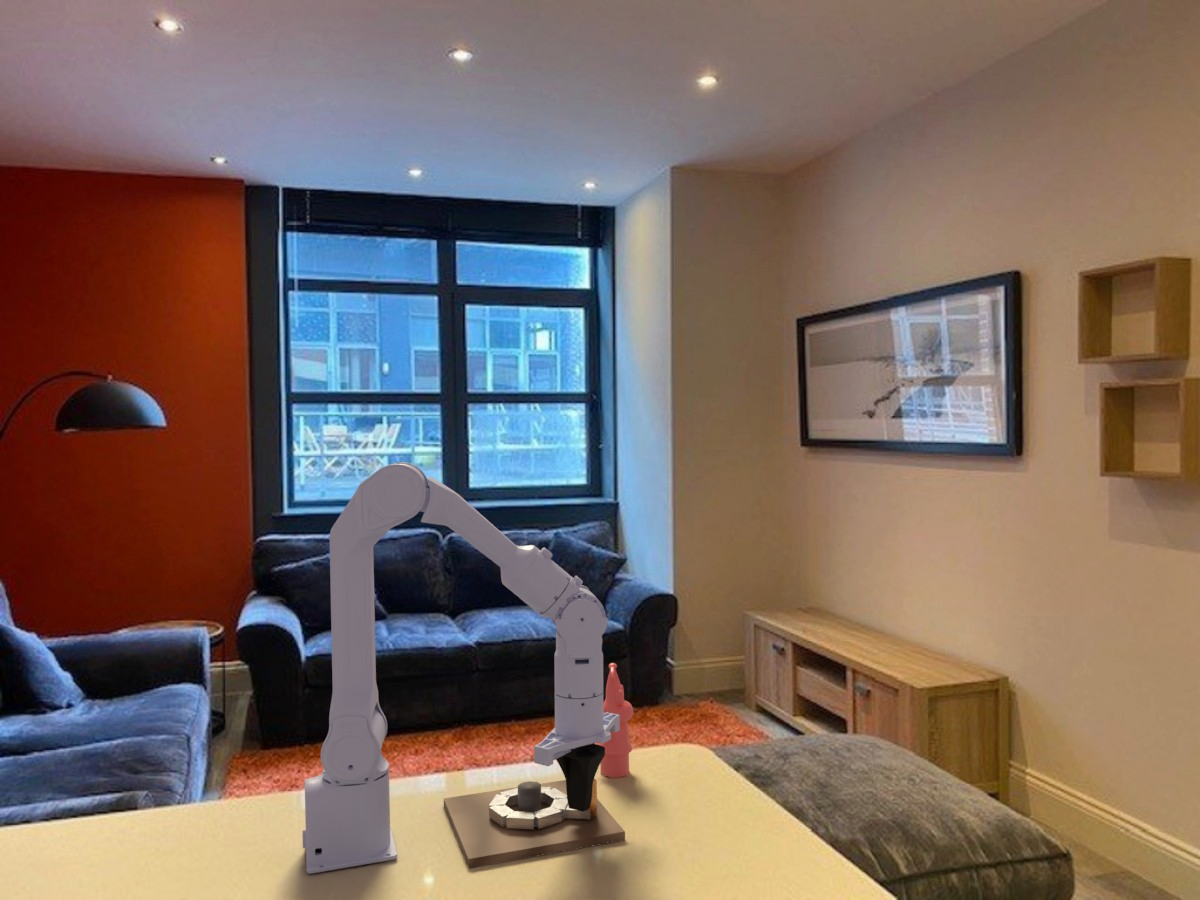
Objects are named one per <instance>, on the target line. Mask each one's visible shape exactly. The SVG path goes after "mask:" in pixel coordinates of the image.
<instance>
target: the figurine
mask: <svg viewBox="0 0 1200 900" xmlns="http://www.w3.org/2000/svg"><path fill="white" fill-rule="evenodd" d="M617 667H618V665H617V664H616V663H615V662H610V663H609V664H608V668H609V673H608V676H607V681H606V687H605V700H603V714H604V713H606V712H608V713H613V714H618V715H620V730H619V731H617V732H609V733H611V739H610V740H609V741H607V742H605V743H598V745H601V746H603V747H605V756H604V757H603V759H602V761H601V763H600V765H599V767H600V774H601V775H602V776H604V777H606V776H608V777H607V778H622V776H623V777H625V776H627V775H629V774H630V753H631V752H632V751H633V746H632V744H631V741H630V732H629V724H628V721H630V719H631V718H632V717H633V715H634V707H633V706H632V704H631V703H630V702H629V701H627V700H625V691H624V689H625V687H624V685H623V684H621V681H620V678H619V675H618V673H617Z"/></svg>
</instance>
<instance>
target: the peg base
mask: <svg viewBox="0 0 1200 900" xmlns="http://www.w3.org/2000/svg"><path fill="white" fill-rule="evenodd" d="M541 787H551V789H553V788H556V789H557V790H559V791H561V792H562V793H564V794H566V795H567V790H566V779H563V780H558V781H557V780H556V781H549V782H541V783H540V782H537V781H533V780H532V781H524V782H521V783H519V784H518V785H517V787H509V788H503V789H496V790H492V791H491V790H490V791H485V792H478V793H477V792H476V793H471V794H465V795H464V794H463V795H458V796H450V797H445V798H443V809H444V810H445V812H446V816H447V818H448V820H449V822H450V825H451V828H452V827H453V828H452V830H453V833H454V835H455V838H456V839H457V843H458V846H459V848H460V851H461V852H462V854H463V857H464V860H465V863H466V865H467V867H468V869H471V868H477V867H483V866H488V865H494V864H500V863H506V862H511V861H517V860H522V859H528V858H533V856H534V857H538V856H537V855H540V856H543V855H542V854H545V855H549V853H551V854H555V853H554V852H556V853H560V852H559V851H562V852H564V851H563V850H568V851H571V850H570V849H573V850H577V849H576V848H579V849H581V848H580V847H584V848H587V847H586V846H590V847H593V846H592V845H595V846H599V845H598V844H601V845H604V844H603V843H607V842H612V841H613V842H612V843H616V842H615V841H618V842H621V841H620V840H623V841H626V831H625V829H624V828H622V826H621V825H620V824H619V823H618V821H617V820H616V819H615V818H614V817H613V815H612V814H611V813H610V811H608V810H607V808H605V806H604V804H602V803H601V801H600V800H599V799H598V798H597V816H596V817H595V818H592V819H574V818H565V820H564V819H562V821H561V822H558V823H555V824H552V825H549V826H546V827H543V828H540V829H538V828H537V827H535V828H534V829H517V828H507V826H504V827H502V826H501V825H500V824H498V823H497V822H495V821H494V820H493V819H491V818H490V816H489V804H490V803H491V802H492V800H493V799H494V797H495V796H496V794H497V795H499V793H501V792H504V791H508V790H511V789H515V788H518V804H516V805H513V806H510V807H509V808H510V809H512V810H513V811H521V812H536V811H539V810H542V809H545V808H549V807H551V806H549V805H548V804H546V803H544V802H541ZM607 844H608V843H607Z"/></svg>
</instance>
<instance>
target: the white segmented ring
mask: <svg viewBox="0 0 1200 900" xmlns="http://www.w3.org/2000/svg"><path fill="white" fill-rule="evenodd" d="M597 783H598V782H597V779H596V778H594V780H593V787H592V800H591V805H590V808H589V809H587V810H585V811H584V812H582V811H578V810H575V809H571V808H569V805H568V800H567V795H566V794H564V793H562V792H561V791H559V790H557V789H556V788H553V789H551V787H541V802H544V803H546V804H548V805H549V806H551V807H549V808H545V809H542V810H539V811H536V812H521V811H513V810H512V809H510V808H509V807H510V806H513V805H516V804H518V788H516V787H514V788H515V789H511V790H508V791H504V792H501V793H499V795H497V794H496V796H495V797H494V799H493V800H492V802H491V803H490V804H489V816H490V818H491V819H493V820H494V821H495V822H497V823H498V824H500V825H501V826H502V827H504V826H507V828H517V829H534V828H535V827H537V828H538V829H540V828H543V827H546V826H549V825H552V824H555V823H558V822H561V821H562V819H564V820H565V818H574V819H592V818H595V817H596V816H597V799H598V791H597V790H598V789H597V788H598V787H597V786H598V785H597Z"/></svg>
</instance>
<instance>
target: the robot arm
mask: <svg viewBox="0 0 1200 900" xmlns="http://www.w3.org/2000/svg"><path fill="white" fill-rule="evenodd" d="M419 512H422V513H423V514H422V517H421V519H420V523H425V524H432V525H439V526H445V527H448V528H449V529H450V530H451V531H453V532H455V534H457V535H458V536H459V537H461V538H462V539H464V540H465V541H466V542H467V543H468V544H470V545H471V546H472V547H474V548H475V549H476V550H477V551H478V552H480V553H481V554H483V555H484V556H485V557H487V559H489V560H491V562H493V563H495V564H496V565H497V566H498V567H500V579H501V583H502V585H503V586H504V587H506V588H507V589H508V590H509V591H511V592H512V593H513V594H514V595H515V596H517V597H518V598H519V599H520V600H521V601H523V602H524V604H526V605H527V606H529V607H530V608H531V609H532V610H534V611H535V612H536V613H537V614H538V615H540V616H541V617H542V618H548V619H551V621H552V623H553V625H554V626H555V627H556V629H557V630H555V652H554V657H553V658H554V659H553V660H554V662H553V664H554V666H553V668H554V728H553V729H552V730H551V731H550V732H549V733H548V734H547V735H546V736H545V737H544V739H542V741H541V742H539V743H537V744H535V745H534V746H533V747H534V749H533V753H534V758H533V760H534V761H533V762H534V763H535V764H538V765H541V766H545V767H550V766H552V765H553V764H554V761H555V760H556V762H557V763H558V765H559V767H560V770H561V772H562V774H563V775H564V780H566V790H567V800H568V805H569V808H571V809H575V810H578V811H582V812H584V811H585V810H587V809H589V808H590V805H591V800H592V787H593V780H594V779H595V777H596V774H597V771H598V769H599V767H600V763H601V761H602V759H603V757H604V756H605V747H603V746H601V745H599V744H600V743H605V742H607V741H609V740H610V739H611V733H609V732H617V731H619V730H620V715H618V714H613V713H608V712H606V713H604V714H603V703H604V653H603V649H602V648H603V635H604V634H605V631H606V629H607V627H608V623H609V618H608V616H607V615H606V611H605V608H604V605H603V604H602V602H601V601H600V600H599V598H597V596H596V595H595V594H594V593H593V592H592V591H591V590H590V589H589V587H587V586H586V585H583V582H584V581H583V580H582V579H581V578H580V577H579V576H578V575H575V576H574V577H573V576H571V575H570V574H569V573H568V572H567V571H566V570H564V568H562V567H561V566H560V565H558V564H557V563H556V562H555V561H554V560H552V558H553V553H552V551H549V550H548V548H546V547H542V548H541V549H539V547H537V546H536V545H534V544H529V545H516V544H515V543H514V542H513V541H512V540H511V539H509V537H507V536H506V535H505V534H504V533H503V532H502V531H500V530H499V529H498V528H497V527H496V526H495V525H494V524H493V523H491V522H490V521H489V519H487V518H486V517H485V516H483V515H482V514H481V513H480V512H479V511H478V510H477V509H476V508H475V507H473V506H472V504H470V503H469V502H468V501H466V499H464V498H463V497H462V496H461V495H460V494H459V493H458V492H456V491H454V490H453V489H452V488H450V487H448V486H447V485H445V484H444V483H443V482H441V481H439V480H437V479H436V478H434V477H433V476H431V475H430V476H428V477H427V476H426V474H425V473H424V471H423V470H421V469H420V468H419V467H418V466H416V465H415V464H413V463H410V462H404V461H403V462H402V461H400V462H394V463H392V464H388V465H385V466H383V467H381V468H379V469H377V471H375V472H374V473H372V474H371V475H370V476H368V477H367V478H366V479H365V480H363V481H362V482H361V483H360V484H359V485H358V486H357V488H356V490H355V492H354V493H353V495H352V496H351V499H350V500H349V501H348V503H347V504H346V506H345V507H344V509H343V510H342V512H341V513H340V514H339V516H338V518H337V519H336V521H335V522H334V524H333V525H332V527H331V529H330V533H329V571H330V572H329V575H330V579H329V580H330V620H331V623H330V624H331V626H330V627H331V630H330V631H331V669H332V671H331V672H332V674H331V675H332V677H331V678H332V694H331V701H330V708H329V713H328V714H329V716H328V725H329V726H328V732H327V735H326V738H324V739H325V740H324V741H323V743H322V746H321V749H320V761H321V762H320V763H321V765H322V768H323V769H322V773H321V774H319V775H317V776H313V777H309V778H306V779H304V810H305V811H304V813H305V814H304V816H305V829H304V830H302V835H301V836H302V849H305V850H306V851H305V853H306V854H305V857H306V858H305V860H306V861H305V862H306V873H307V874H310V875H311V874H317V873H321V872H322V873H323V872H328V871H334V870H339V869H340V870H341V869H347V868H352V867H357V866H358V867H359V866H363V865H368V864H369V865H370V864H376V863H381V862H387V861H393V860H395V859H396V860H397V858H398V852H397V851H398V850H397V846H396V843H395V840H394V839H395V838H394V835H393V831H392V827H391V808H390V807H391V806H390V805H391V803H390V799H391V798H390V797H391V796H390V763H389V761H388V760H387V759H386V758H385V757H384V755H383V754H382V747H383V743H384V741H385V739H386V736H387V734H388V721H387V717H386V715H385V714H384V711H383V710H382V708H381V705H380V702H379V689H378V685H377V672H376V671H377V668H376V666H377V661H376V621H375V620H376V615H375V614H376V613H375V612H376V610H375V572H374V570H375V569H374V568H375V565H374V563H375V562H374V561H375V560H374V559H375V557H374V548H375V547H374V546H375V545H376V544H377V542H379V541H380V540H381V539H382V538H383V537H384V536H385V535H386V534H387V533H389V531H390V530H391V529H392V528H395V527H397V526H399V525H400V524H403V523H404V522H407V521H408V520H411V519H412V518H414V517H415V516H417V515H418V513H419Z"/></svg>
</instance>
